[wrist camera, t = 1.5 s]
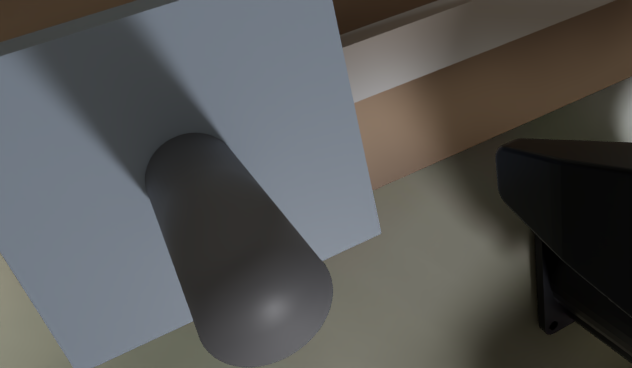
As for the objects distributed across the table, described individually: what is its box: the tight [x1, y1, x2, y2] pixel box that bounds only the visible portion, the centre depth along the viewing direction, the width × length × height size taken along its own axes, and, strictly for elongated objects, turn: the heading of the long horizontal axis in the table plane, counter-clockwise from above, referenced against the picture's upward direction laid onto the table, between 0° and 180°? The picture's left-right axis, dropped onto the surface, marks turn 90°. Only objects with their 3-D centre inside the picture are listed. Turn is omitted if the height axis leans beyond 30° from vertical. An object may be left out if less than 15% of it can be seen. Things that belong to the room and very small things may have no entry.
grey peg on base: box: [0, 0, 381, 368], centre depth 11 cm, size 7×8×8 cm
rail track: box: [0, 0, 632, 191], centre depth 17 cm, size 9×26×2 cm, turn 103°
